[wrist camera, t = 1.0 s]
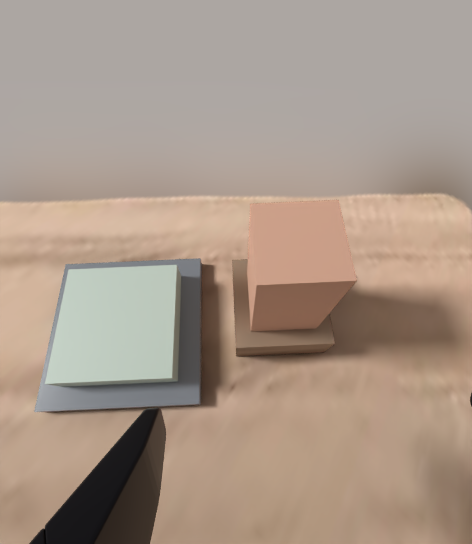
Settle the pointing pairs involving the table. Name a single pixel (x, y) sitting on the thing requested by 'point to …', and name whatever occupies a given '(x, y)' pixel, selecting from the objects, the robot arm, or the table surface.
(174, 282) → the foundation slab
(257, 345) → the walnut stand
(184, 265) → the baseplate
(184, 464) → the table surface
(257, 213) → the terracotta brick
